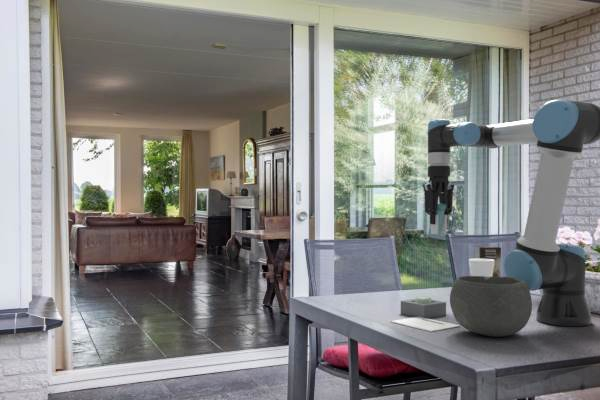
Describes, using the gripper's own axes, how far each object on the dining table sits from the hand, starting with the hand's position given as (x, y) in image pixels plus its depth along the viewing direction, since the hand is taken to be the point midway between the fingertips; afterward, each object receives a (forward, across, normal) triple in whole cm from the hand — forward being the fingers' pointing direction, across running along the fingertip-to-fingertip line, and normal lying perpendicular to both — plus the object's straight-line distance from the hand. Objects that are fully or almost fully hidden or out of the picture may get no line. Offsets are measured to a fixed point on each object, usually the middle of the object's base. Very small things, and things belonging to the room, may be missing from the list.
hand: (438, 233), depth 209 cm
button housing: (+25, +16, +8) cm, 30 cm away
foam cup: (+25, -33, -8) cm, 42 cm away
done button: (+25, +16, +8) cm, 30 cm away
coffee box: (+25, -55, -22) cm, 64 cm away
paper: (+25, +27, +19) cm, 41 cm away
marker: (+3, 0, -3) cm, 4 cm away
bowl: (+25, +22, +38) cm, 50 cm away
